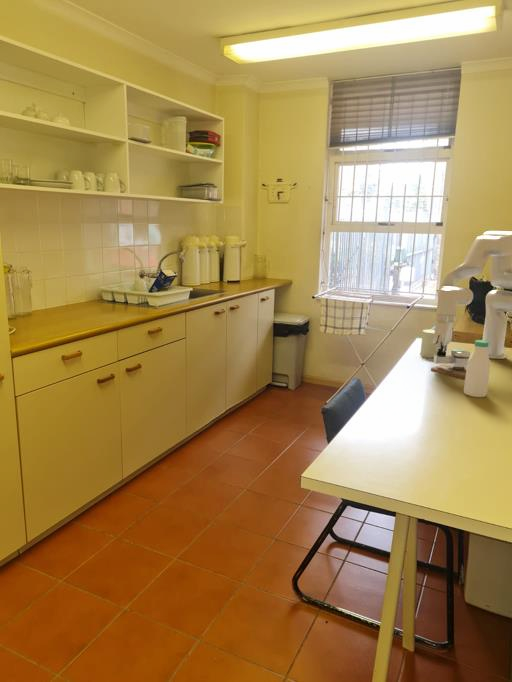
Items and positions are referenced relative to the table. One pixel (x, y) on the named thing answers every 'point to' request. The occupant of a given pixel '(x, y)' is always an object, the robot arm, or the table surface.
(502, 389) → the table surface
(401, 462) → the table surface
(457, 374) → the post base
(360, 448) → the table surface
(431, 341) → the can
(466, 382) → the milk bottle
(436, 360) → the coupling
